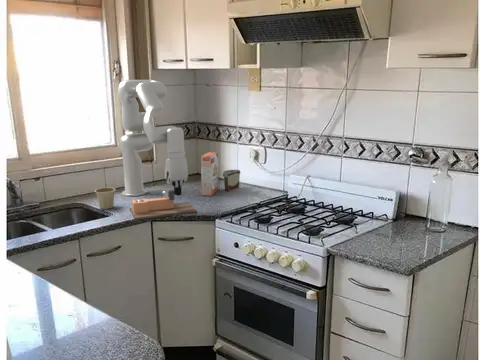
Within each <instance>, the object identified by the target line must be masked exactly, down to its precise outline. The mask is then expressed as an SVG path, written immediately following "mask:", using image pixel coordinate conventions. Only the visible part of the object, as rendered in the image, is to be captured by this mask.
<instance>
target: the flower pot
mask: <svg viewBox="0 0 480 360" xmlns="http://www.w3.org/2000/svg"><path fill="white" fill-rule="evenodd" d="M115 192H116V188H114V187H100V188H97V189H95V190H94V193H95V195H96V197H97V201H98V205H99V208H100V209H102V210H108V209H110V208H114V201H115V200H114V199H115Z"/></svg>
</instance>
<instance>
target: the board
mask: <svg viewBox="0 0 480 360" xmlns="http://www.w3.org/2000/svg"><path fill="white" fill-rule="evenodd" d="M129 210H130V213H131V215H132V218H133V219H134V220H136V221H137V220H145V219H153V218H161V217H173V216H179V215H180V216H181V215H189V214H197V213H198V211H197V210H198V209H196V208H195V207H194V206H193V205H192V204H191V203H190V202H189V201H185V202H176V203H174V208H169V209H160V210H151V211H149V212H140V213H134V212H133V209H132V207H129Z"/></svg>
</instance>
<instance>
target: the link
mask: <svg viewBox="0 0 480 360" xmlns="http://www.w3.org/2000/svg"><path fill="white" fill-rule="evenodd" d="M139 199H141V200H142V202H138V200H139ZM174 201H175V200H169V199H168V198H167V197H166V198H164V197H158V198H157V197H156V198H155V197H154V198H138V199H131V206H132V207H131V208H132V209H133V212H134V213H140V212H149V211H151V210H160V209H169V208H174Z"/></svg>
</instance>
